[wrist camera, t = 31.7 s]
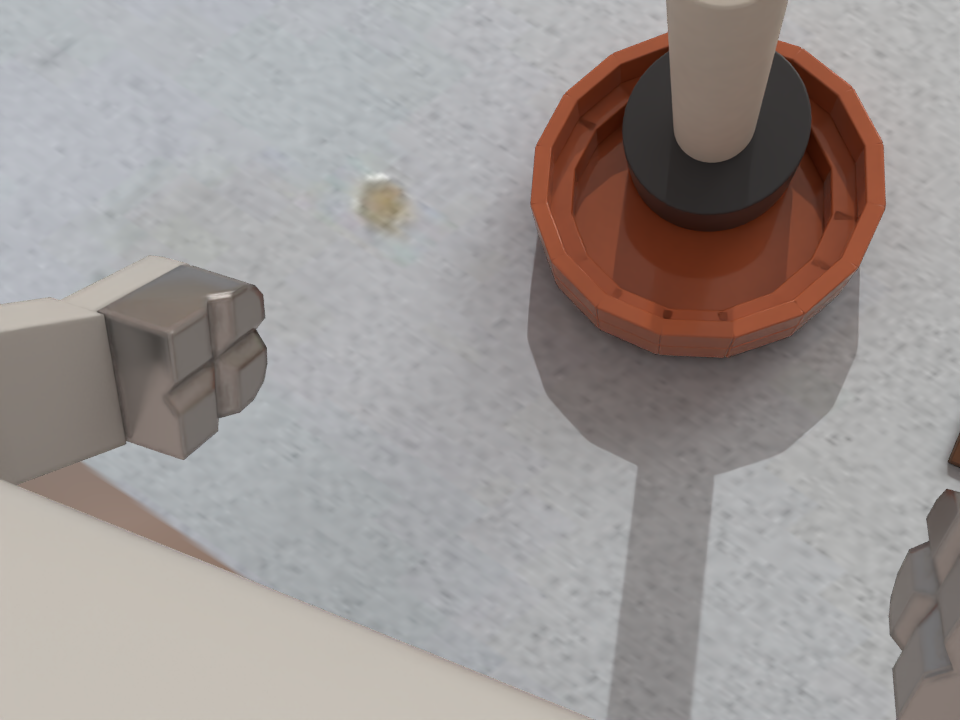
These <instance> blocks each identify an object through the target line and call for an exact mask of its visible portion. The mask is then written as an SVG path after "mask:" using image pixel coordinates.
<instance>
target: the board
mask: <svg viewBox="0 0 960 720" xmlns="http://www.w3.org/2000/svg"><path fill="white" fill-rule="evenodd" d="M948 462H949V463H951V464H954V465H956V466H958V467H960V434H959V436H958V438H957V441H956V443H955V446H954V448H953V450H952V453H951V455H950V458H949V460H948Z"/></svg>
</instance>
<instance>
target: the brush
mask: <svg viewBox="0 0 960 720" xmlns="http://www.w3.org/2000/svg"><path fill="white" fill-rule="evenodd" d="M787 3H788V0H666V7H667V24H668V41H669V51H668V52H667V53H665V54H664V55H663V56H661V57H660V58H659V59H657V60H656V61H655V62H654V63H653V64H652V65H651V66H650V67H649V68H648V69H647V70H646V71H645V73H644V74H643V75H642V76H641V77H640V79H639V81H638V82H637V84H636V85H635V87H634V89H633V91H632V93H631V95H630V97H629V99H628V102H627V105H626V108H625V112H624V117H623V126H622V138H623V146H624V151H625V156H626V159H627V163H628V167H629V170H630V174H631V177H632V180H633V183H634V186H635V188H636V189H637V191H638V193H639V195H640V196H641V198H642V199H643V201H644V202H645V203H646V204H647V205H648V207H649V208H650V209H651V210H652V211H654V212H655V213H656V214H657V215H658V216H660V217H661V218H663V219H665V220H666V221H668V222H670V223H672V224H674V225H676V226H679V227H682V228H686V229H689V230H695V231H708V232H713V231H722V230H727V229H732V228H735V227H738V226H741V225H744V224H746V223H748V222H750V221H752V220H754V219H756V218H757V217H759V216H760V215H762V214H763V213H765V212H766V211H767V210H768V209H769V208H770V207H772V206H773V205H774V204H775V203H776V202H777V200H778V199H779V198H780V197H781V196H782V194H783V193H784V192H785V190H786V189H787V187H788V185H789V183H790V182H791V180H792V178H793V176H794V174H795V172H796V170H797V168H798V166H799V164H800V161H801V159H802V157H803V155H804V153H805V150H806V147H807V145H808V141H809V137H810V132H811V120H812V116H811V105H810V101H809V96H808V93H807V90H806V88H805V85H804V83H803V81H802V79H801V77H800V76H799V74H798V72H797V71H796V70H795V68H794V67H793V66H792V65H791V63H790V62H789V61H788V60H786V59H785V58H784V57H783V56H782V55H781V54H780V53H778V52H777V51H775V50H776V46H777V42H778V38H779V34H780V30H781V26H782V22H783V18H784V15H785V11H786V7H787Z"/></svg>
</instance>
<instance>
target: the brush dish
mask: <svg viewBox="0 0 960 720" xmlns="http://www.w3.org/2000/svg"><path fill="white" fill-rule="evenodd" d="M668 51H669V41H668V33H665V34H662V35H660V36H657V37H654V38H652V39H649V40H646V41H644V42H641V43H639V44H636V45H633V46H631V47H628V48H625V49H623V50H620V51H617V52H615V53H613V55H612V54H611V55H610V56H608V57H607V58H606V59H605V60H604V61H602V62H601V63H600V64H599V65H598V66H597V67H595V68H594V69H593V70H592V71H591V72H589V73H588V74H587V75H586V76H585V77H583V78H582V79H581V80H580V81H579V82H577V83H576V84H575V85H574V86H573V87H572V88H570V89H569V90H568V91H567V92H566V93H565V94H564V95H563V97H562V99H561V101H560V102H559V104H558V106H557V108H556V110H555V112H554V113H553V115H552V117H551V119H550V121H549V123H548V124H547V126H546V128H545V130H544V132H543V134H542V135H541V137H540V139H539V141H538V143H537V145H536V147H535V156H534V168H533V179H532V190H531V202H530V204H531V209H532V213H533V217H534V220H535V224H536V228H537V232H538V235H539V238H540V241H541V243H542V246H543V249H544V252H545V254H546V257H547V260H548V263H549V266H550V268H551V271H552V274H553V277H554V279H555V282H556V284H557V285H558V287H559V288H560V289H561V290H562V291H563V292H564V294H565V295H566V296H567V297H568V298H569V299H570V300H571V301H572V302H573V303H574V304H575V305H576V306H577V307H578V308H579V309H580V310H581V311H582V312H583V313H584V314H585V315H586V316H587V317H588V319H589V320H590V321H591V322H592V323H593V324H594V325H595V326H596V327H597V328H599V329H600V330H602V331H604V332H607V333H609V334H611V335H613V336H616V337H618V338H620V339H622V340H625V341H627V342H629V343H632V344H634V345H636V346H638V347H641V348H643V349H645V350H648V351H650V352H652V353H654V354H659V355H671V356H694V357H718V358H724V357H730V356H733V355H736V354H739V353H742V352H745V351H748V350H751V349H754V348H757V347H760V346H763V345H766V344H769V343H772V342H775V341H778V340H781V339H784V338H787V337H789V336H791V335H793V334H794V333H795V332H796V331H797V330H799V329H800V328H801V327H802V326H803V325H804V324H805V323H807V322H808V321H809V320H810V319H811V318H812V317H813V316H815V315H816V314H817V313H818V312H819V311H820V310H822V309H823V308H824V307H825V306H826V305H827V304H828V303H830V302H831V301H832V300H833V299H834V298H835V297H836V296H838V295H839V294H840V292H841V291H842V290H843V288H844V287H845V285H846V284H847V283H848V281H849V280H850V279H851V277H852V276H853V274H854V273H855V272H856V270H857V269H858V267H859V266H860V264H861V261H862V259H863V257H864V255H865V252H866V250H867V248H868V246H869V244H870V241H871V239H872V237H873V235H874V233H875V230H876V228H877V226H878V224H879V222H880V219H881V217H882V215H883V213H884V211H885V206H886V197H885V170H884V145H883V142H882V140H881V138H880V136H879V134H878V132H877V130H876V129H875V127H874V125H873V123H872V121H871V119H870V118H869V116H868V114H867V112H866V110H865V108H864V106H863V105H862V103H861V101H860V99H859V97H858V95H857V93H856V92H855V90H854V89H853V88H852V86H851V85H850V84H848V83H847V82H846V81H844V80H843V79H842V78H841V77H839V76H838V75H837V74H835V73H834V72H833V71H832V70H830V69H829V68H828V67H826V66H825V65H824V64H823V63H821V62H820V61H819V60H817V59H816V58H815V57H814V56H812V55H811V54H810V53H808V52H807V51H806V50H805V49H803V48H802V49H801V47H799V46H795V45H792V44H789V43H785V42H782V41H779V40H778V42H777V46H776V50H775V51H777V52H778V53H780V54H781V55H782V56H783V57H784V58H785V59H786V60H788V61H789V62H790V63H791V65H792V66H793V67H794V68H795V70H796V71H797V72H798V74H799V76H800V77H801V79H802V81H803V83H804V85H805V88H806V90H807V93H808V96H809V101H810V105H811V116H812V120H811V132H810V137H809V141H808V145H807V147H806V150H805V153H804V155H803V157H802V159H801V161H800V164H799V166H798V168H797V170H796V172H795V174H794V176H793V178H792V180H791V182H790V183H789V185H788V187H787V189H786V190H785V192H784V193H783V194H782V196H781V197H780V198H779V199H778V200H777V202H776V203H775V204H774V205H773V206H772V207H770V208H769V209H768V210H767V211H766V212H765V213H763V214H762V215H760V216H759V217H757V218H756V219H754V220H752V221H750V222H748V223H746V224H744V225H741V226H738V227H735V228H732V229H727V230H722V231H713V232H708V231H695V230H689V229H686V228H682V227H679V226H676V225H674V224H672V223H670V222H668V221H666V220H665V219H663V218H661V217H660V216H658V215H657V214H656V213H655V212H654V211H652V210H651V209H650V208H649V207H648V205H647V204H646V203H645V202H644V201H643V199H642V198H641V196H640V195H639V193H638V191H637V189H636V188H635V186H634V183H633V180H632V177H631V174H630V170H629V167H628V163H627V159H626V156H625V151H624V146H623V138H622V126H623V117H624V112H625V108H626V105H627V102H628V99H629V97H630V95H631V93H632V91H633V89H634V87H635V85H636V84H637V82H638V81H639V79H640V77H641V76H642V75H643V74H644V73H645V71H646V70H647V69H648V68H649V67H650V66H651V65H652V64H653V63H654V62H655V61H656V60H657V59H659V58H660V57H661V56H663V55H664V54H665V53H667V52H668Z"/></svg>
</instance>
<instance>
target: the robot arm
mask: <svg viewBox="0 0 960 720" xmlns="http://www.w3.org/2000/svg"><path fill="white" fill-rule="evenodd" d="M264 319H265V309H264V299H263V294H262V293H261V292H260V291H259V289H258V288H257V287H256V286H255V285H253V284H249V283H246V282H243V281H240V280H237V279H234V278H230V277H227V276H224V275H221V274H218V273H215V272H211V271H208V270H205V269H202V268H199V267H196V266H190V265H189V264H187V263H184V262H180V261H176V260H173V259H169V258H165V257H160V256H151V255H149V256H147V257H145V258H143V259H141V260H139V261H137V262H135V263H133V264H131V265H129V266H127V267H125V268H123V269H121V270H119V271H117V272H115V273H113V274H111V275H109V276H107V277H105V278H103V279H101V280H99V281H97V282H95V283H93V284H91V285H89V286H87V287H85V288H83V289H81V290H79V291H77V292H75V293H73V294H71V295H69V296H67V297H65V298H63V299H61V300H57V299H54V298H51V297H48V298H41V299H34V300H27V301H20V302H13V303H6V304H0V720H594V719H592V718H589V717H587V716H584V715H582V714H579V713H577V712H574V711H572V710H570V709H567V708H565V707H562V706H560V705H557V704H555V703H552V702H550V701H547V700H545V699H543V698H540V697H538V696H535V695H533V694H530V693H528V692H525V691H523V690H520V689H518V688H516V687H513V686H511V685H508V684H506V683H503V682H501V681H498V680H496V679H494V678H491V677H489V676H486V675H484V674H481V673H479V672H476V671H474V670H471V669H469V668H466V667H464V666H461V665H459V664H456V663H454V662H452V661H449V660H447V659H444V658H442V657H439V656H437V655H434V654H432V653H429V652H427V651H424V650H422V649H419V648H417V647H414V646H412V645H409V644H407V643H405V642H402V641H400V640H397V639H395V638H392V637H390V636H387V635H385V634H382V633H380V632H377V631H375V630H372V629H370V628H367V627H365V626H362V625H360V624H358V623H355V622H353V621H350V620H348V619H345V618H343V617H340V616H338V615H335V614H333V613H330V612H328V611H325V610H323V609H320V608H318V607H315V606H313V605H311V604H308V603H306V602H303V601H301V600H298V599H296V598H293V597H291V596H288V595H286V594H283V593H281V592H278V591H276V590H273V589H271V588H268V587H266V586H264V585H261V584H259V583H256V582H254V581H251V580H249V579H246V578H244V577H241V576H239V575H236V574H234V573H231V572H229V571H226V570H224V569H221V568H219V567H216V566H214V565H212V564H209V563H207V562H204V561H202V560H199V559H197V558H194V557H191V556H189V555H187V554H184V553H182V552H179V551H177V550H175V549H172V548H170V547H167V546H165V545H162V544H160V543H157V542H155V541H152V540H150V539H147V538H145V537H142V536H140V535H138V534H135V533H133V532H130V531H128V530H125V529H122V528H120V527H118V526H115V525H113V524H110V523H108V522H105V521H103V520H100V519H98V518H96V517H93V516H91V515H88V514H86V513H83V512H81V511H78V510H76V509H73V508H71V507H68V506H66V505H64V504H61V503H59V502H56V501H53V500H51V499H49V498H46V497H44V496H41V495H39V494H36V493H34V492H31V491H29V490H26V489H24V488H22V487H19V486H17V485H18V484H21V483H23V482H26V481H29V480H31V479H34V478H37V477H39V476H42V475H45V474H48V473H50V472H53V471H56V470H58V469H61V468H64V467H66V466H69V465H72V464H74V463H77V462H80V461H82V460H85V459H88V458H90V457H93V456H96V455H99V454H101V453H104V452H107V451H109V450H112V449H115V448H117V447H120V446H123V445H125V444H126V441H128V442H131V443H134V444H137V445H140V446H143V447H146V448H149V449H152V450H155V451H158V452H161V453H164V454H167V455H170V456H173V457H176V458H179V459H182V460H185V459H186V458H187V457H188V456H189V455H190V454H192V453H193V452H194V451H195V450H196V449H198V448H199V447H200V446H201V445H202V444H203V443H205V442H206V441H207V440H208V439H209V438H211V437H212V436H213V435H214V434H215V433H216V432H218V425H219V418H222V417H225V416H229V415H232V414H236V413H240V412H241V411H242V410H243V409H244V408H245V407H247V406H248V405H249V404H250V403H251V402H252V401H253V400H254V399H255V397H256V395H257V393H258V391H259V389H260V388H261V386H262V384H263V382H264V379H265V373H266V368H267V347H266V345H265V344H264V342H263V340H262V339H261V337H260V335H259V334H258V332H257V330H256V329H257V328H258V326H259V325H260V324H261V323H262V321H263V320H264ZM926 521H927V528H928V536H929V541H928V542H925V543H923V544H921V545H918V546H916V547H914V548H911V549H909V551H908V553H907V555H906V557H905V559H904V561H903V563H902V565H901V567H900V569H899V571H898V573H897V577H896V580H895V584H894V587H893V591H892V594H891V599H890V609H889V629H890V636H891V637H892V638H893V640H894V641H895V642H896V643H897V645H898V646H899V647H900V649H901V650H902V653H901V654H900V656H899V658H898V660H897V661H896V663H895V665H894V667H893V668H892V672H893V684H894V696H895V708H896V720H960V492H957V491H953V490H949V489H946V490H945V491H944V492H943V493H942V494H941V495H940V496H939V498H938V499H937V500H936V502H935V503H934V505H933V507H932V509H931V510H930V512H929V514H928V516H927V518H926Z"/></svg>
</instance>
